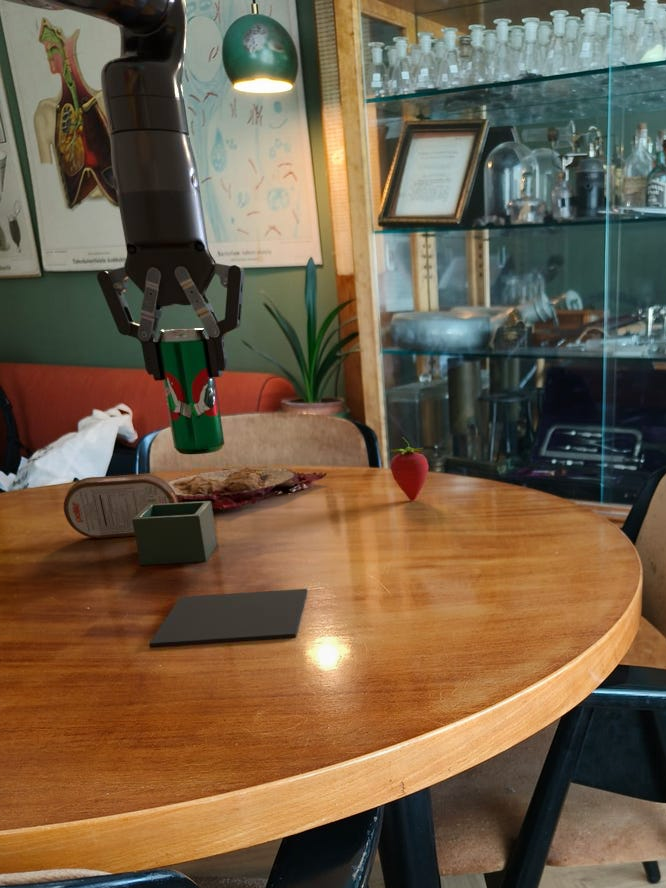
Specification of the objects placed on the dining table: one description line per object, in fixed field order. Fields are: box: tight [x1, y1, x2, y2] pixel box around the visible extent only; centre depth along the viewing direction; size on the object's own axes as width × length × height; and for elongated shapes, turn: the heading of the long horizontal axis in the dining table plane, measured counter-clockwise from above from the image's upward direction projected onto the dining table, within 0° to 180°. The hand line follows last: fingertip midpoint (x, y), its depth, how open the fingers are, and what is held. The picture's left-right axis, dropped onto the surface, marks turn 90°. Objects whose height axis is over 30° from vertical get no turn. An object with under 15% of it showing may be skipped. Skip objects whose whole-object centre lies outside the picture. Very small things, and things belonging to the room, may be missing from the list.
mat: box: [148, 588, 308, 648], centre depth 92 cm, size 14×14×1 cm
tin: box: [63, 473, 178, 539], centre depth 124 cm, size 15×3×8 cm, turn 102°
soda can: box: [157, 327, 225, 455], centre depth 90 cm, size 5×5×12 cm
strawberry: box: [389, 436, 429, 502], centre depth 138 cm, size 6×8×10 cm
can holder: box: [132, 500, 218, 566], centre depth 114 cm, size 8×8×6 cm
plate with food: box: [167, 466, 327, 512], centre depth 149 cm, size 24×26×4 cm
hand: (188, 377), depth 89 cm, fingers closed on soda can, 5 cm apart
